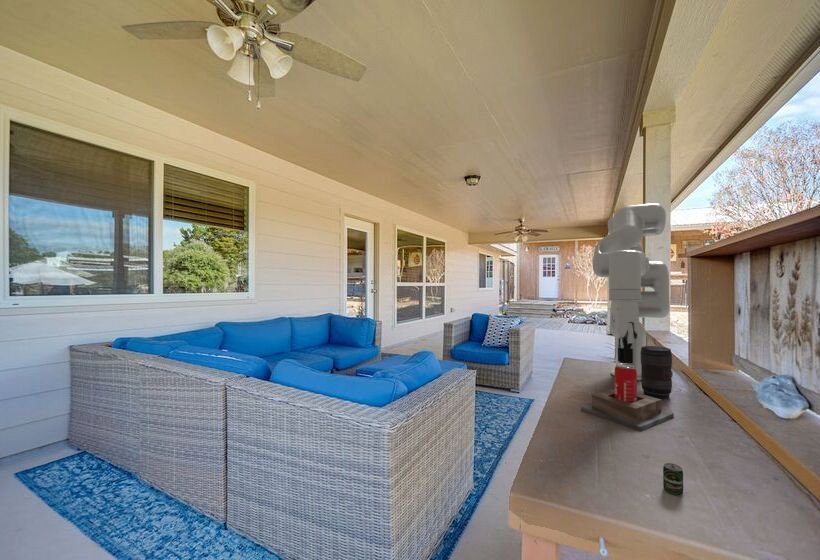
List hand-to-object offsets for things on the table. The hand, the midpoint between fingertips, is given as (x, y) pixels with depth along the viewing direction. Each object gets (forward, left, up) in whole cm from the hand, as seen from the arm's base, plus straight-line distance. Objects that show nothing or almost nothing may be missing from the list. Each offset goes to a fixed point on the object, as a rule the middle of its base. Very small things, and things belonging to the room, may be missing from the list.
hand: (625, 362), depth 97 cm
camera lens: (-22, -3, -14) cm, 27 cm away
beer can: (+28, +24, -14) cm, 39 cm away
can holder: (0, 0, -14) cm, 14 cm away
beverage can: (0, 0, -13) cm, 13 cm away
